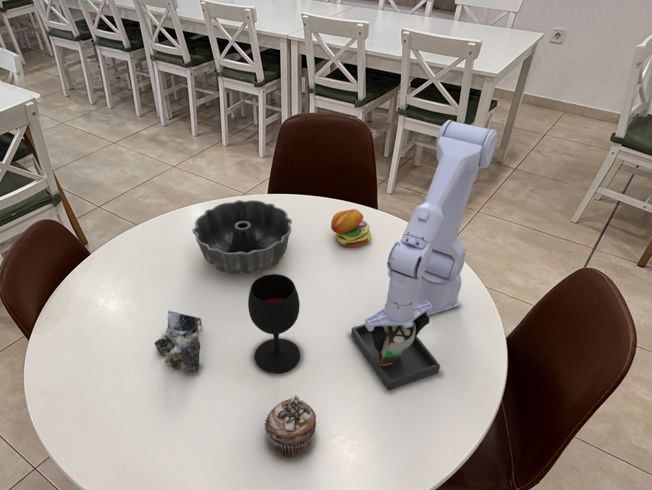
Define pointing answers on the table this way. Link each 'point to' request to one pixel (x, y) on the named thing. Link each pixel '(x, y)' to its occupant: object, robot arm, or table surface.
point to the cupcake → (290, 426)
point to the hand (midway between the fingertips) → (393, 343)
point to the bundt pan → (243, 235)
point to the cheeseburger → (350, 228)
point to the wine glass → (274, 321)
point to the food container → (395, 343)
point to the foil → (181, 341)
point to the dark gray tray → (407, 367)
